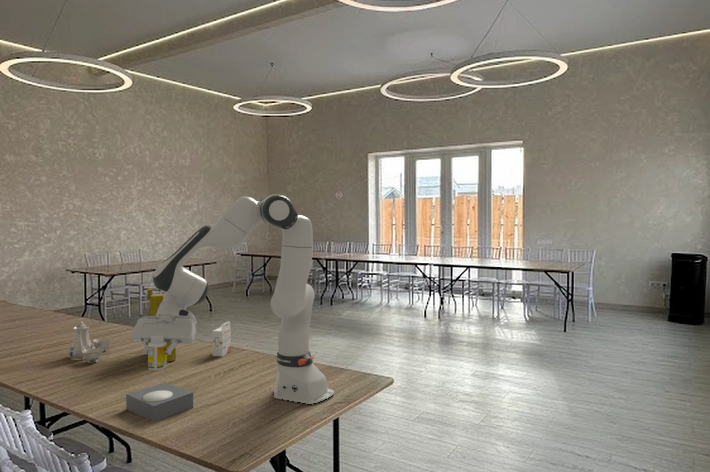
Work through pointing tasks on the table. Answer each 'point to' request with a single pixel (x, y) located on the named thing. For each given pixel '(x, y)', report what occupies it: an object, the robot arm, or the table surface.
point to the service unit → (159, 401)
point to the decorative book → (154, 305)
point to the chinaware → (87, 345)
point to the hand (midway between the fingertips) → (156, 353)
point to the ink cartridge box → (222, 340)
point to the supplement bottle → (157, 353)
